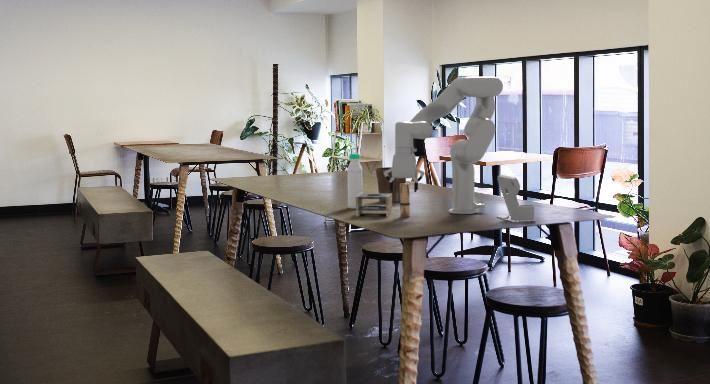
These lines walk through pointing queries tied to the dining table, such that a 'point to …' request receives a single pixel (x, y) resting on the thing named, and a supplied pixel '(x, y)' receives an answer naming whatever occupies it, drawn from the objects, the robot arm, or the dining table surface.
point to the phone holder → (514, 200)
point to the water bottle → (354, 180)
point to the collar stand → (361, 207)
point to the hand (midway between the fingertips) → (404, 191)
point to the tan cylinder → (404, 200)
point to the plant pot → (388, 184)
